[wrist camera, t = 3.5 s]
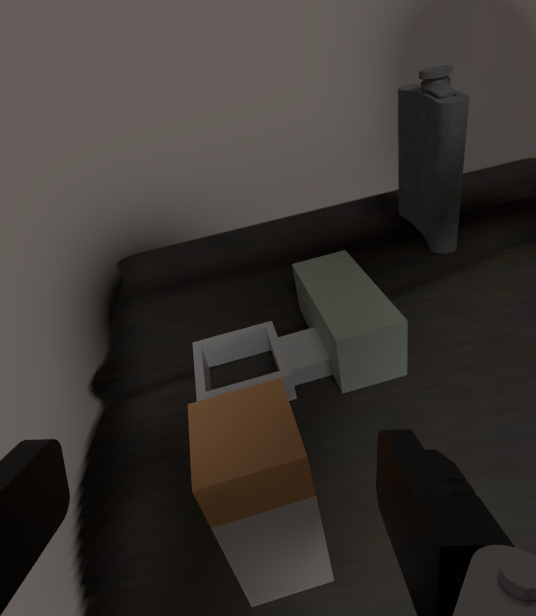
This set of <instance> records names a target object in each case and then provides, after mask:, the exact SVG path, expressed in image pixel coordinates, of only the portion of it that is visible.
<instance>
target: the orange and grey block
mask: <svg viewBox="0 0 536 616" xmlns="http://www.w3.org/2000/svg"><path fill="white" fill-rule="evenodd" d="M188 418H189V439H190V460H191V481H192V492H193V494H194V496H195V498H196V500H197V502H198V504H199V506H200V508H201V510H202V512H203V514H204V516H205V518H206V520H207V521H208V523H209V525H210V527H211V529H212V531H213V533H214V535H215V537H216V539H217V541H218V543H219V545H220V547H221V549H222V551H223V552H224V554H225V556H226V558H227V560H228V562H229V564H230V566H231V568H232V570H233V572H234V574H235V576H236V578H237V580H238V582H239V583H240V585H241V587H242V589H243V591H244V593H245V595H246V597H247V599H248V601H249V603H250V605H251V607H254V606H257V605H260V604H264V603H267V602H270V601H273V600H276V599H279V598H282V597H285V596H288V595H291V594H295V593H298V592H301V591H304V590H307V589H310V588H313V587H316V586H319V585H323V584H326V583H329V582H332V581H334V578H333V573H332V569H331V564H330V559H329V555H328V550H327V545H326V541H325V536H324V531H323V527H322V522H321V517H320V513H319V508H318V503H317V499H316V494H315V489H314V484H313V480H312V475H311V470H310V466H309V461H308V457H307V454H306V451H305V448H304V445H303V442H302V439H301V436H300V433H299V430H298V427H297V424H296V421H295V418H294V415H293V412H292V409H291V406H290V403H289V400H288V397H287V394H286V391H285V388H284V385H283V383H282V380H281V378H278V379H275V380H271V381H268V382H264V383H261V384H257V385H254V386H250V387H247V388H243V389H240V390H236V391H233V392H229V393H226V394H222V395H219V396H215V397H212V398H208V399H205V400H201V401H198V402H194V403H191V404H188Z"/></svg>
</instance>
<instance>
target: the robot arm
mask: <svg viewBox="0 0 536 616" xmlns="http://www.w3.org/2000/svg"><path fill="white" fill-rule="evenodd" d="M376 490H377V499H378V505H379V509H380V513H381V516H382V518H383V521H384V524H385V527H386V529H387V532H388V535H389V538H390V541H391V543H392V546H393V549H394V552H395V554H396V557H397V560H398V563H399V566H400V568H401V571H402V574H403V577H404V579H405V582H406V585H407V588H408V591H409V593H410V596H411V599H412V602H413V605H414V607H415V610H416V613H417V616H536V556H534V555H533V554H530V553H528V552H526V551H524V550H521V549H518V548H515V547H514V545H513V544H512V543H511V541H510V540H509V538H508V537H507V536H506V534H505V533H504V531H503V530H502V529H501V527H500V526H499V524H498V523H497V522H496V520H495V519H494V517H493V516H492V515H491V513H490V512H489V511H488V509H487V508H486V506H485V505H484V504H483V502H482V501H481V499H480V498H479V497H478V496H476V494H475V491H474V490H473V488H472V487H471V485H470V484H469V483H468V482H466V478H465V477H464V476H463V474H462V473H461V472H460V470H459V469H458V467H457V466H456V465H455V463H454V462H452V461H451V460H450V459H448V458H447V457H445V456H444V455H443V454H441V453H440V452H438V451H437V450H424V448H423V447H422V445H421V444H420V442H419V440H418V439H417V437H416V436H415V434H414V433H413V431H412V430H410V429H401V430H380V431H379V433H378V445H377V477H376ZM69 499H70V493H69V487H68V481H67V476H66V470H65V466H64V460H63V454H62V449H61V445H60V443H59V442H58V441H57V440H55V439H46V440H24V441H21V442H20V443H19V444H18V445H17V446H16V447H15V448H13V449H12V450H11V451H10V452H9V453H8V454H7V455H6V456H5V457H4V458H3V459H2V460H1V461H0V615H1V614H2V612H3V611H4V609H5V608H6V606H7V605H8V603H9V602H10V600H11V599H12V597H13V595H14V594H15V593H16V591H17V590H18V588H19V587H20V585H21V584H22V582H23V581H24V579H25V578H26V576H27V575H28V573H29V571H30V570H31V569H32V567H33V566H34V564H35V562H36V561H37V559H38V558H39V556H40V555H41V553H42V552H43V550H44V549H45V547H46V546H47V544H48V543H49V541H50V540H51V538H52V536H53V535H54V533H55V532H56V531H57V529H58V528H59V526H60V525H61V523H62V522H63V520H64V518H65V516H66V513H67V510H68V506H69Z"/></svg>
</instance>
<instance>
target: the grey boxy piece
mask: <svg viewBox="0 0 536 616" xmlns="http://www.w3.org/2000/svg"><path fill="white" fill-rule="evenodd" d="M292 266H293V272H294V278H295V284H296V289H297V295H298V301H299V307H300V310H301V312H302V314H303V316H304V318H305V320H306V322H307V324H308V326H309V328H310V329H306V330H303V331H299V332H296V333H292V334H289V335H285V336H281V337H278V336H277V334H276V331H275V328H274V326H273V323H272V321H270V322H266V323H262V324H259V325H255V326H251V327H248V328H244V329H241V330H237V331H233V332H230V333H226V334H222V335H219V336H215V337H211V338H208V339H204V340H201V341H197V342H193V355H194V368H195V382H196V395H197V402H198V401H201V400H205V399H208V398H212V397H215V396H219V395H222V394H226V393H229V392H233V391H236V390H240V389H243V388H247V387H250V386H254V385H257V384H261V383H264V382H268V381H271V380H275V379H278V378H281V380H282V383H283V385H284V388H285V391H286V394H287V397H288V400H289V401H291V400H294V399H297V397H296V392H295V388H294V386H295V385H299V384H302V383H306V382H309V381H313V380H316V379H320V378H323V377H327V376H330V375H333V376H334V378H335V380H336V382H337V384H338V386H339V388H340V390H341V392H342V394H343V393H346V392H350V391H353V390H357V389H360V388H364V387H367V386H370V385H374V384H377V383H381V382H384V381H388V380H391V379H394V378H398V377H401V376H405V375H407V330H408V321H407V320H406V318H405V317H404V316H403V315H402V314H401V313H400V312H399V311H398V309H397V308H396V307H395V306H394V305H393V304H392V303H391V301H390V300H389V299H388V298H387V297H386V296H385V295H384V294H383V292H382V291H381V290H380V289H379V288H378V287H377V286H376V285H375V283H374V282H373V281H372V280H371V279H370V278H369V277H368V275H367V274H366V273H365V272H364V271H363V270H362V269H361V268H360V266H359V265H358V264H357V263H356V262H355V261H354V260H353V258H352V257H351V256H350V255H349V254H348V253H347V252H346V251H345V250H344V251H340V252H336V253H332V254H329V255H325V256H321V257H317V258H314V259H310V260H306V261H302V262H299V263H295V264H292ZM270 350H271V352H272V355H273V358H274V361H275V364H276V367H277V370H278V372H274V373H271V374H267V375H264V376H260V377H257V378H253V379H250V380H246V381H243V382H239V383H236V384H232V385H229V386H225V387H222V388H218V389H215V390H212V388H211V380H210V372H209V367H213V366H216V365H220V364H224V363H227V362H231V361H234V360H238V359H241V358H245V357H249V356H252V355H256V354H259V353H263V352H266V351H270Z"/></svg>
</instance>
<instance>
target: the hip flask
mask: <svg viewBox="0 0 536 616" xmlns="http://www.w3.org/2000/svg"><path fill="white" fill-rule="evenodd" d="M452 73H453V65H444V66H443V65H442V66H435V67H430V68H426V69H423V70H420V71H419V79H423V82H421V84H413V85H407V86H403V87H400V88H399V89H398V123H399V124H398V136H399V137H398V139H399V140H398V141H399V142H398V143H399V214H400V215H401V216H403V217H404V218H406V219H407V220H408V221H410V222H411V223H412V224H413V225H414V226H415V227H416V228H417V229H418V230H419V231H420V232H421V234H422V235H423V236H424V238H425V239H426V241H427V243H428V245H429V248H430V250H431V251H432V252H434V253H438V254H448V253H451V252H454V251H455V250H456V248H457V236H458V224H459V212H460V200H461V188H462V176H463V164H464V163H463V162H464V152H465V151H464V150H465V140H466V128H467V127H466V126H467V116H468V103H469V97H468V96H467V95H465V94H463V93H461V92H459V91H456V90H454V89H453V88H451V87H449V86H450V80H451V79H450V78H449V75H451V74H452Z"/></svg>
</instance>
